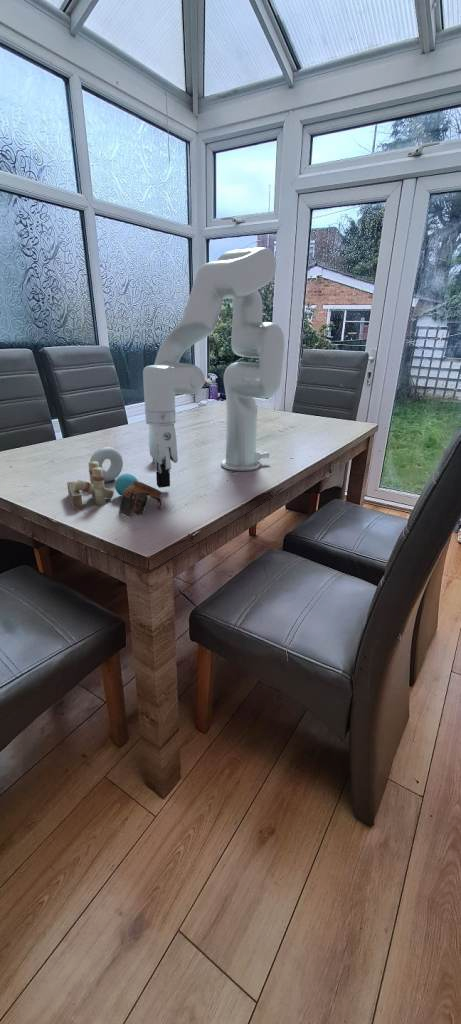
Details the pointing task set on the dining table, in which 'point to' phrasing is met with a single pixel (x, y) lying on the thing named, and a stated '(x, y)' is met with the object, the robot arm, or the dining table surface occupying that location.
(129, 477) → the ball
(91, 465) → the pin
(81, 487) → the front pin
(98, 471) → the pin
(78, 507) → the stopper strip
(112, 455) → the donut
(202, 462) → the dining table surface
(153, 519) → the dining table surface
